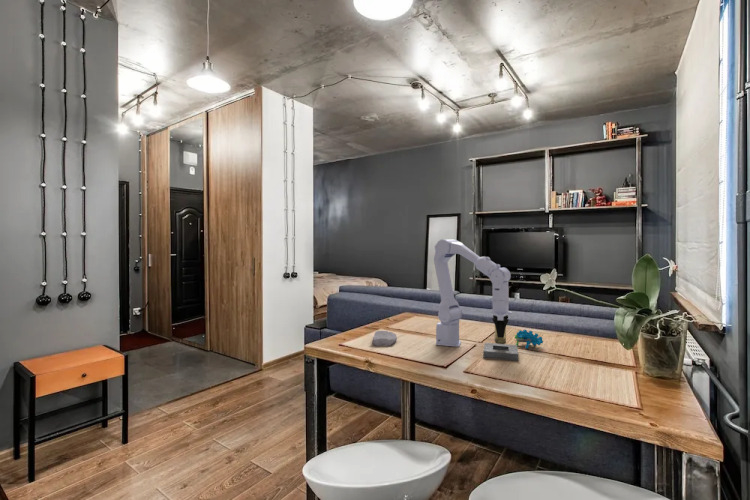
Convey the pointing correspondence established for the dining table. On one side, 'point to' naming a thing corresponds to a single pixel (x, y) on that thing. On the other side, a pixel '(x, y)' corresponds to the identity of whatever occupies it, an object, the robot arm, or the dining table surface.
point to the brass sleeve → (499, 339)
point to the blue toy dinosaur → (528, 338)
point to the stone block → (384, 338)
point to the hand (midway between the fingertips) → (500, 335)
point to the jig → (500, 351)
